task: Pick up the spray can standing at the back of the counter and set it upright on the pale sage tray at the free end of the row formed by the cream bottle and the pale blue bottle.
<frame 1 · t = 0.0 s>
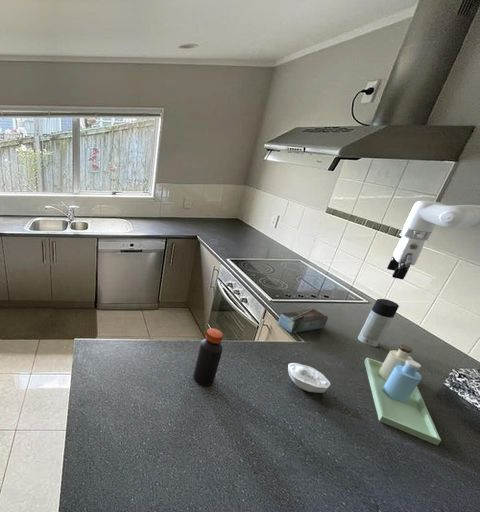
hand: (394, 273, 113), 30 cm above the worktop, tool pointing down, fingers open, 9 cm apart
vinegar: (203, 379, 98), on the worktop
cream bottle: (388, 377, 101), point 1 cm above the worktop, touching tray
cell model: (303, 385, 97), on the worktop
beverage carton: (300, 326, 129), on the worktop
pale blue bottle: (394, 394, 94), point 1 cm above the worktop, touching tray
spray can: (367, 342, 120), on the worktop
tray: (394, 397, 93), on the worktop
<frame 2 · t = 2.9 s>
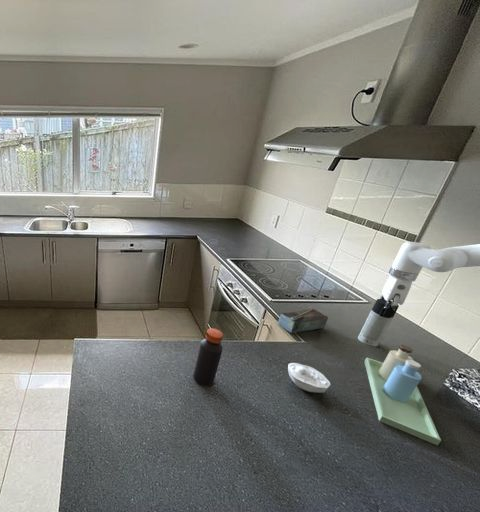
hand: (382, 312, 114), 15 cm above the worktop, tool pointing down, fingers closed on spray can, 6 cm apart
spray can: (367, 342, 120), on the worktop, touching gripper
everything else where it was.
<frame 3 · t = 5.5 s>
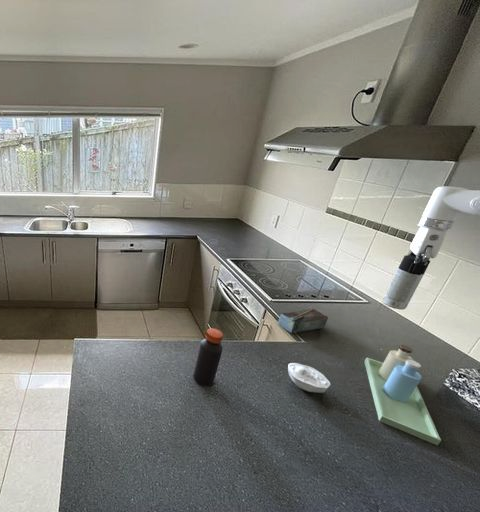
hand: (411, 270, 102), 36 cm above the worktop, tool pointing down, fingers closed on spray can, 6 cm apart
spray can: (393, 305, 108), point 21 cm above the worktop, touching gripper
everything else where it was.
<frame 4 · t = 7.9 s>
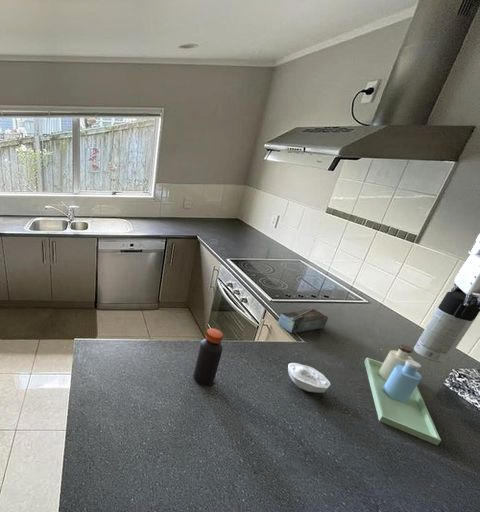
hand: (456, 312, 76), 36 cm above the worktop, tool pointing down, fingers closed on spray can, 6 cm apart
spray can: (428, 355, 82), point 21 cm above the worktop, touching gripper
everything else where it was.
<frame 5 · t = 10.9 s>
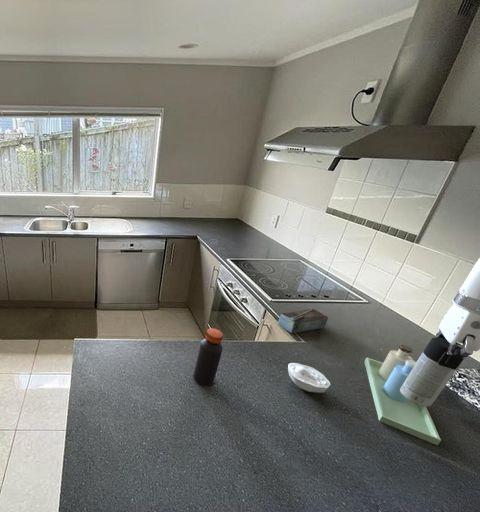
hand: (441, 358, 77), 24 cm above the worktop, tool pointing down, fingers closed on spray can, 6 cm apart
spray can: (414, 398, 83), point 9 cm above the worktop, touching gripper
everything else where it was.
when the fingers open (16 cm above the worktop, at t = 13.3 s): spray can stays where it is, resting on tray.
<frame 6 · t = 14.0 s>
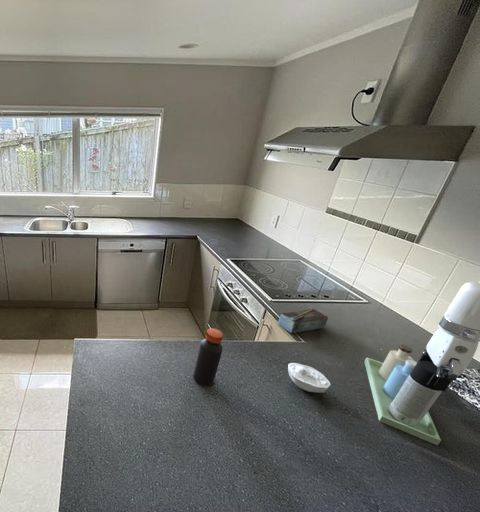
hand: (429, 377, 80), 17 cm above the worktop, tool pointing down, fingers open, 9 cm apart
spray can: (401, 417, 86), resting on tray
everything else where it was.
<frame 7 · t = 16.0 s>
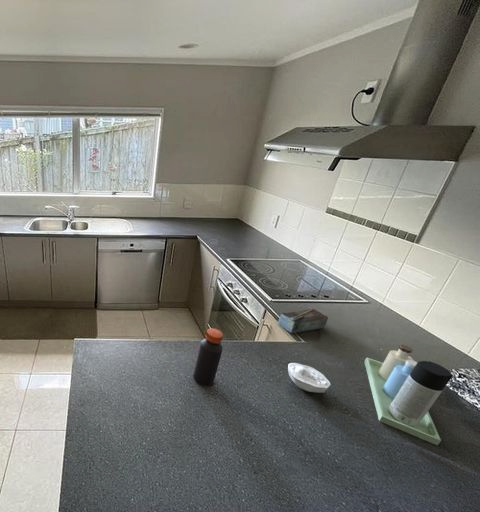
nothing on the worktop moved.
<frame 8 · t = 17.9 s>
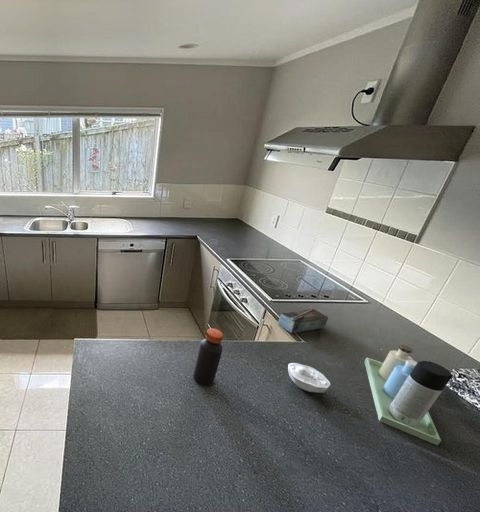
nothing on the worktop moved.
at the end: spray can 0.0 cm from the target spot in the tray, point 0.4 cm above the tray's base; spray can tilted 0°; pale blue bottle moved 0.0 cm from its start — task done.
